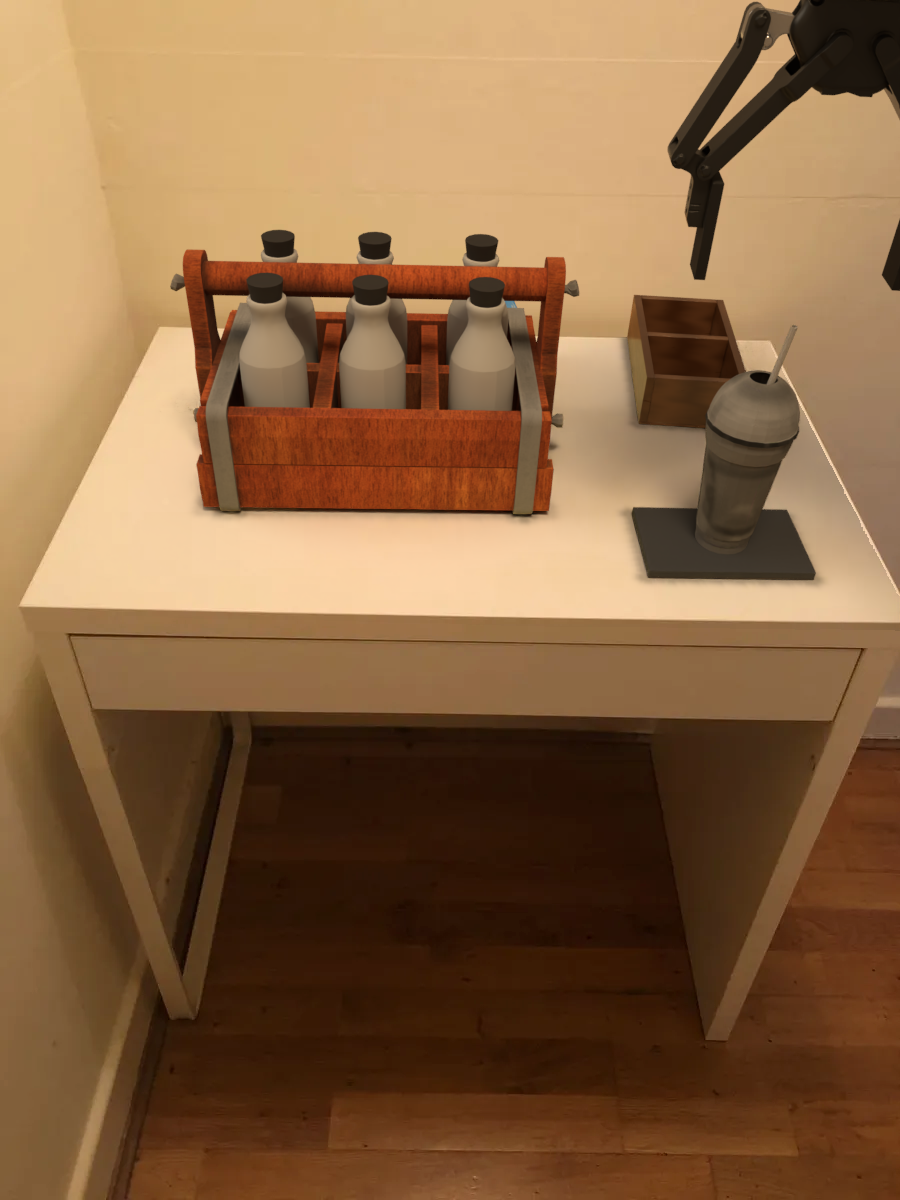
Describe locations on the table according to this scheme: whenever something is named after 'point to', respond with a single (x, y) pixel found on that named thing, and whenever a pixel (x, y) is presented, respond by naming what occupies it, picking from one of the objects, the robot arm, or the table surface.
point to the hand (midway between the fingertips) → (794, 278)
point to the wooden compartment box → (679, 357)
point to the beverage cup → (744, 453)
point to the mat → (682, 556)
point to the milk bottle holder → (375, 380)
